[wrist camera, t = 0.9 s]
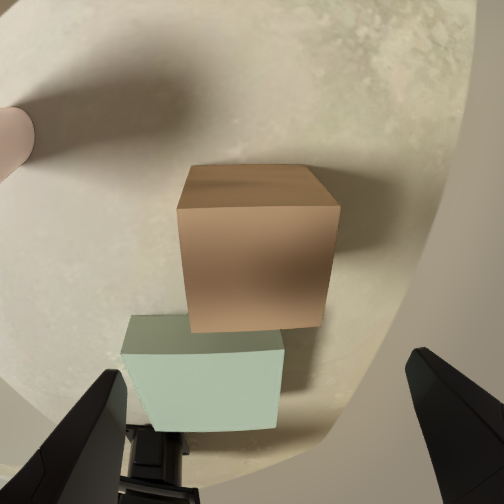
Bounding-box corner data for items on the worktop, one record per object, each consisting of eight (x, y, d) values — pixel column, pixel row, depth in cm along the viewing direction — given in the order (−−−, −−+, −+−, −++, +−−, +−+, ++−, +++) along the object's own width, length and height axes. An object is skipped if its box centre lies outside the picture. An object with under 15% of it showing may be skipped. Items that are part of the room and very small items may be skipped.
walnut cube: (296, 259, 20) (320, 326, 15) (197, 263, 19) (191, 332, 14) (304, 164, 17) (341, 206, 12) (191, 165, 16) (176, 208, 11)
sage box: (269, 390, 27) (275, 427, 24) (159, 394, 26) (155, 431, 23) (275, 307, 22) (284, 349, 19) (132, 312, 21) (120, 353, 18)
